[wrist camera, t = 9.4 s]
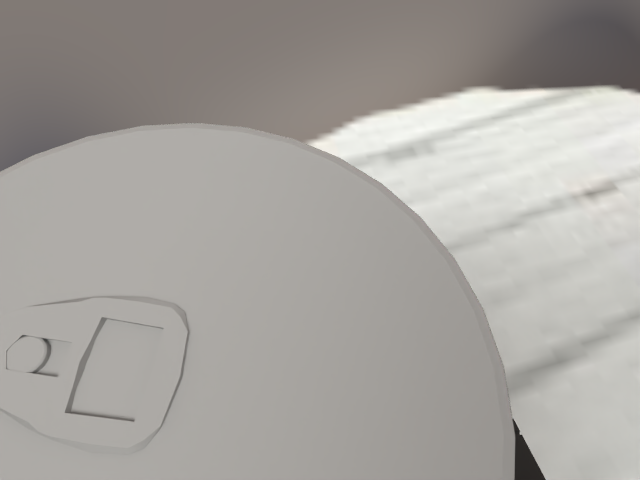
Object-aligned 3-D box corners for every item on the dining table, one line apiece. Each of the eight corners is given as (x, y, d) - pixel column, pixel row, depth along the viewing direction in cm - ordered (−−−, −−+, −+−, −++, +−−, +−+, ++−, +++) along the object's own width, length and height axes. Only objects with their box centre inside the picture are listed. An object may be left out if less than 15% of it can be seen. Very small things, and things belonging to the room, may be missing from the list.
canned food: (145, 317, 15) (-123, 129, 5) (341, 296, 16) (427, 104, 6) (132, 555, 12) (-601, 1211, 2) (376, 510, 13) (661, 809, 3)
